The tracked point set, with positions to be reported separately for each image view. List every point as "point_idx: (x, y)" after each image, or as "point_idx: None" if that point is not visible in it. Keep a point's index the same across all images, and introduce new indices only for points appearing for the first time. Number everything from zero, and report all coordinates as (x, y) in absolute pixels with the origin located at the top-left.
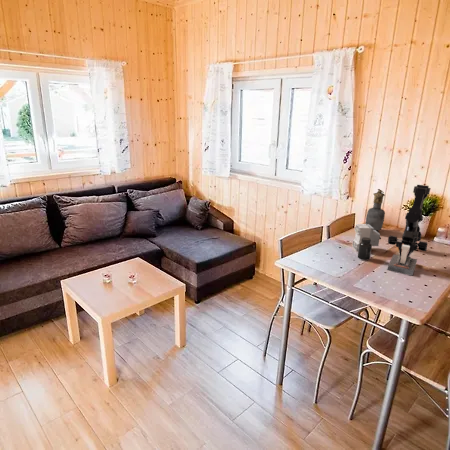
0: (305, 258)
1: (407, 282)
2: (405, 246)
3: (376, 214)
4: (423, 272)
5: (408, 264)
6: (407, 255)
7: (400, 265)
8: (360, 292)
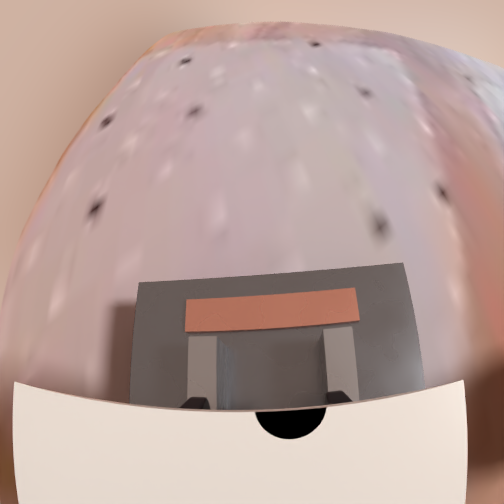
0: None
1: (195, 173)
2: (222, 451)
3: None
4: None
5: None
6: None
7: (285, 339)
8: (349, 34)
